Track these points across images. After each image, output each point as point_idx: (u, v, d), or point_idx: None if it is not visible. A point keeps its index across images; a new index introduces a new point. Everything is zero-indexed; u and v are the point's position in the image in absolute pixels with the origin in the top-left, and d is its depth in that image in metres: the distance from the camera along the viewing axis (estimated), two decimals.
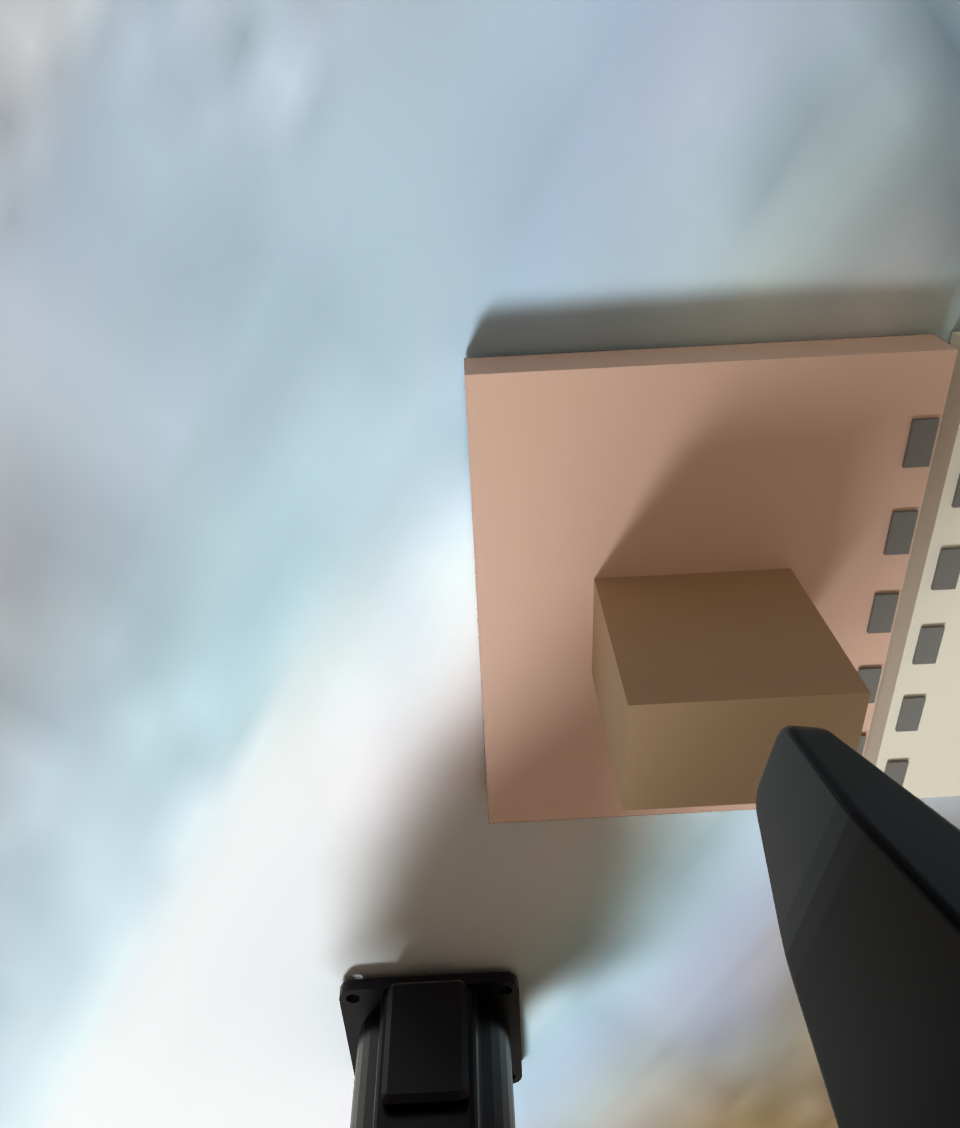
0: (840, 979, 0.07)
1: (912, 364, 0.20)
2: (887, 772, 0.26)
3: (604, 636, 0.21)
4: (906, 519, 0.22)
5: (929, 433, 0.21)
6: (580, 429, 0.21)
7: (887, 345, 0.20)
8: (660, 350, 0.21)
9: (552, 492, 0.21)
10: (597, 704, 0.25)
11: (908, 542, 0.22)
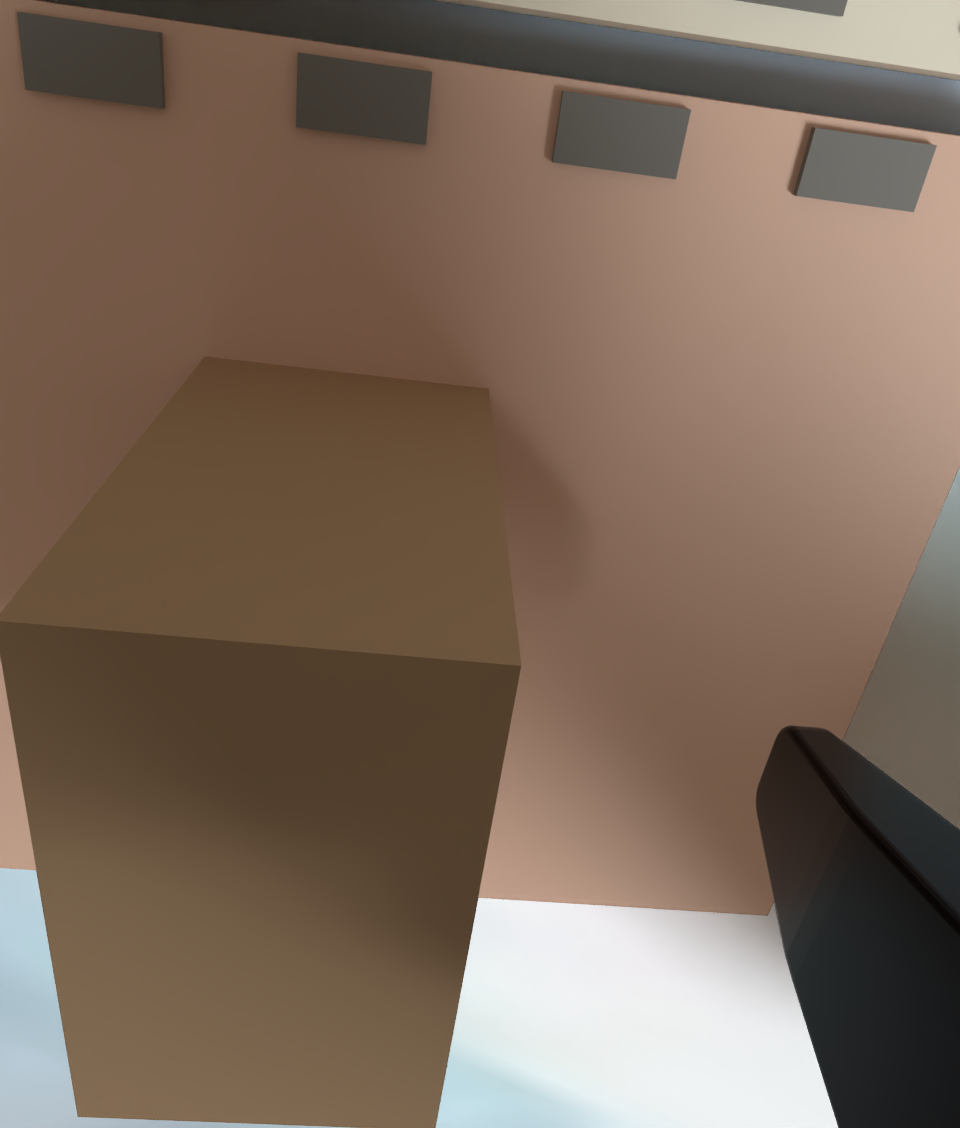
0: (840, 979, 0.07)
1: None
2: None
3: None
4: (52, 43, 0.08)
5: None
6: None
7: None
8: None
9: None
10: (522, 739, 0.12)
11: (118, 38, 0.08)
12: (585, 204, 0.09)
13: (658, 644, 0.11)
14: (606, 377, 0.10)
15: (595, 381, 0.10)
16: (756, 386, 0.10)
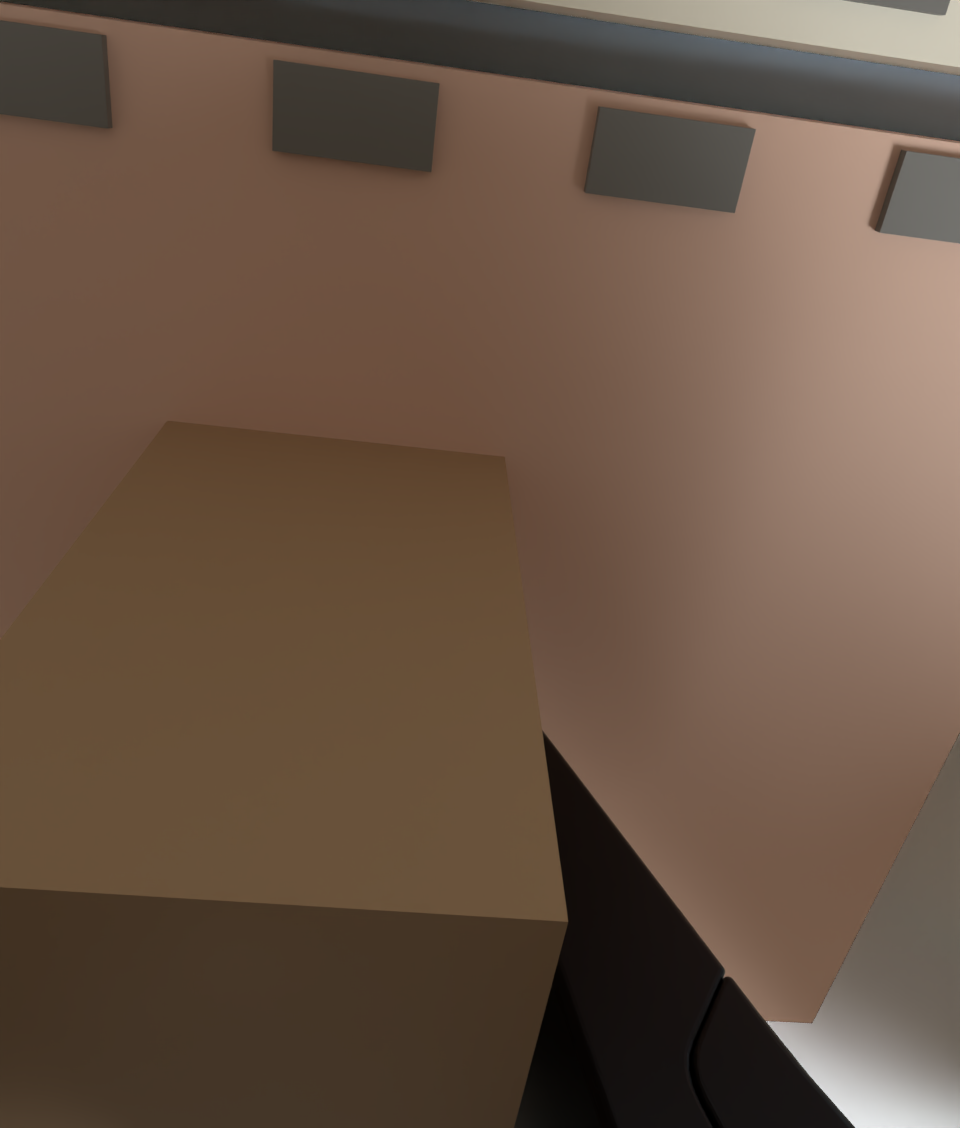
0: None
1: None
2: None
3: None
4: None
5: None
6: None
7: None
8: None
9: None
10: None
11: (52, 42, 0.06)
12: (623, 242, 0.07)
13: (698, 739, 0.10)
14: (644, 443, 0.08)
15: (631, 448, 0.08)
16: (821, 453, 0.08)
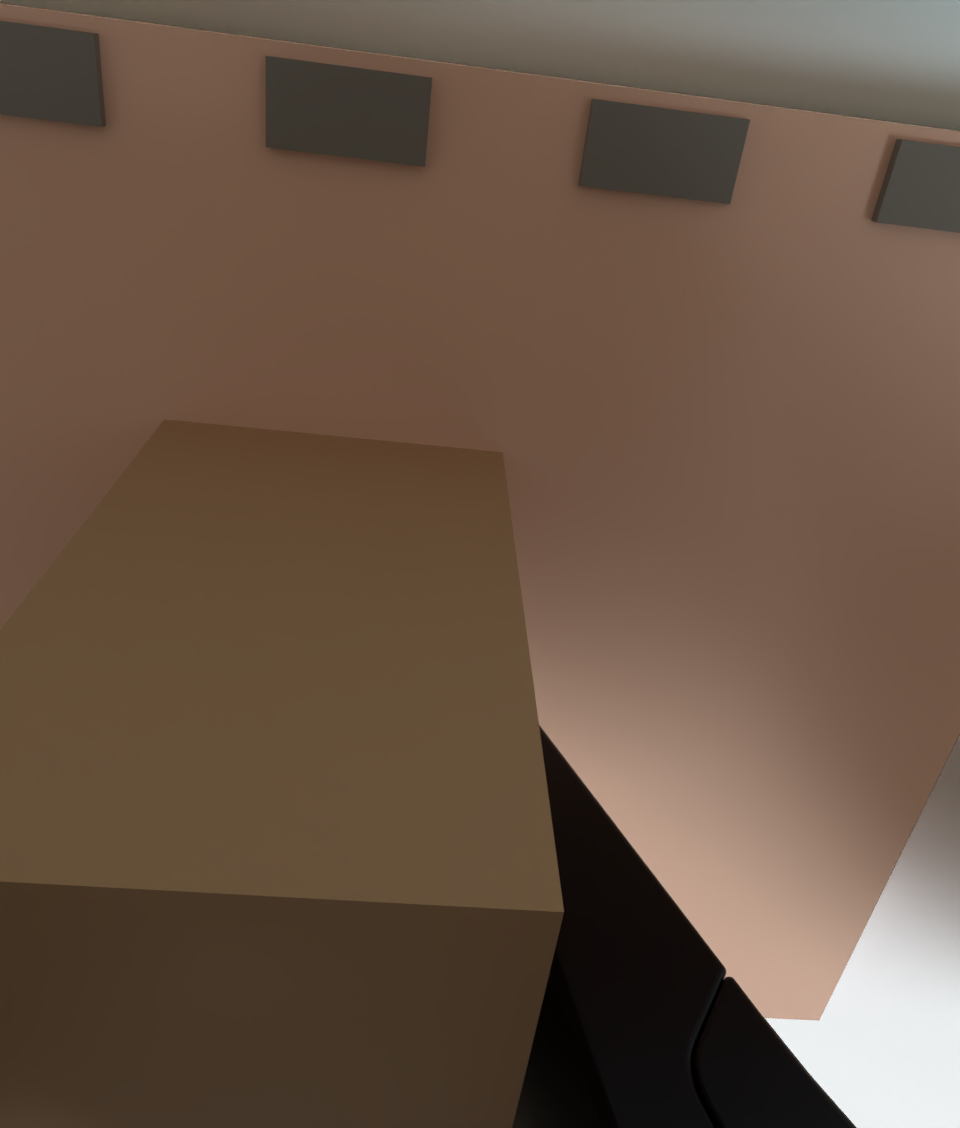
0: None
1: None
2: None
3: None
4: None
5: None
6: None
7: None
8: None
9: None
10: None
11: (44, 42, 0.06)
12: (619, 235, 0.07)
13: (700, 734, 0.10)
14: (642, 439, 0.08)
15: (629, 442, 0.08)
16: (820, 445, 0.08)
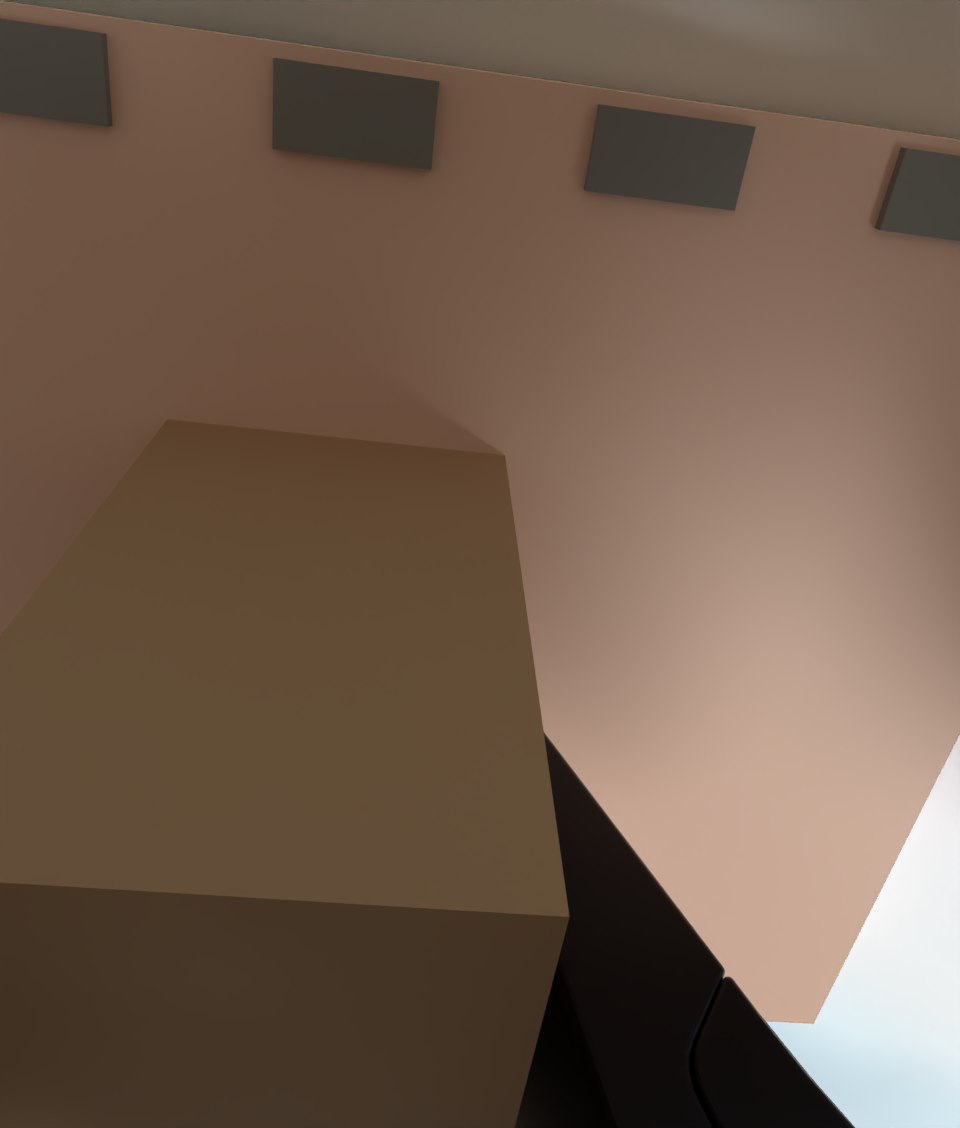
0: None
1: None
2: None
3: None
4: None
5: None
6: None
7: None
8: None
9: None
10: None
11: (51, 40, 0.06)
12: (623, 241, 0.07)
13: (699, 738, 0.10)
14: (644, 442, 0.08)
15: (631, 447, 0.08)
16: (822, 451, 0.08)
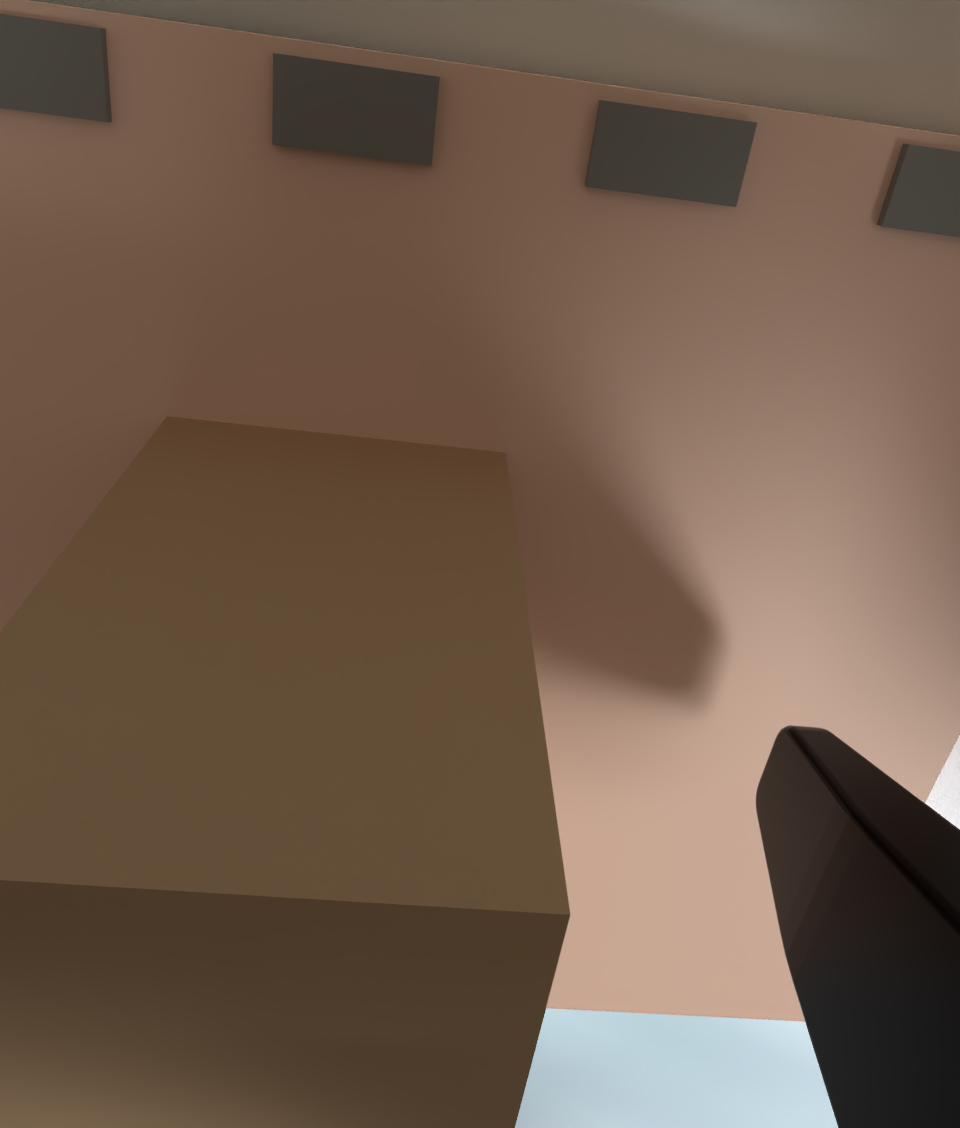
0: (840, 979, 0.07)
1: None
2: None
3: None
4: None
5: None
6: None
7: None
8: None
9: None
10: None
11: (49, 36, 0.06)
12: (623, 237, 0.07)
13: (699, 737, 0.10)
14: (645, 440, 0.08)
15: (632, 444, 0.08)
16: (823, 449, 0.08)
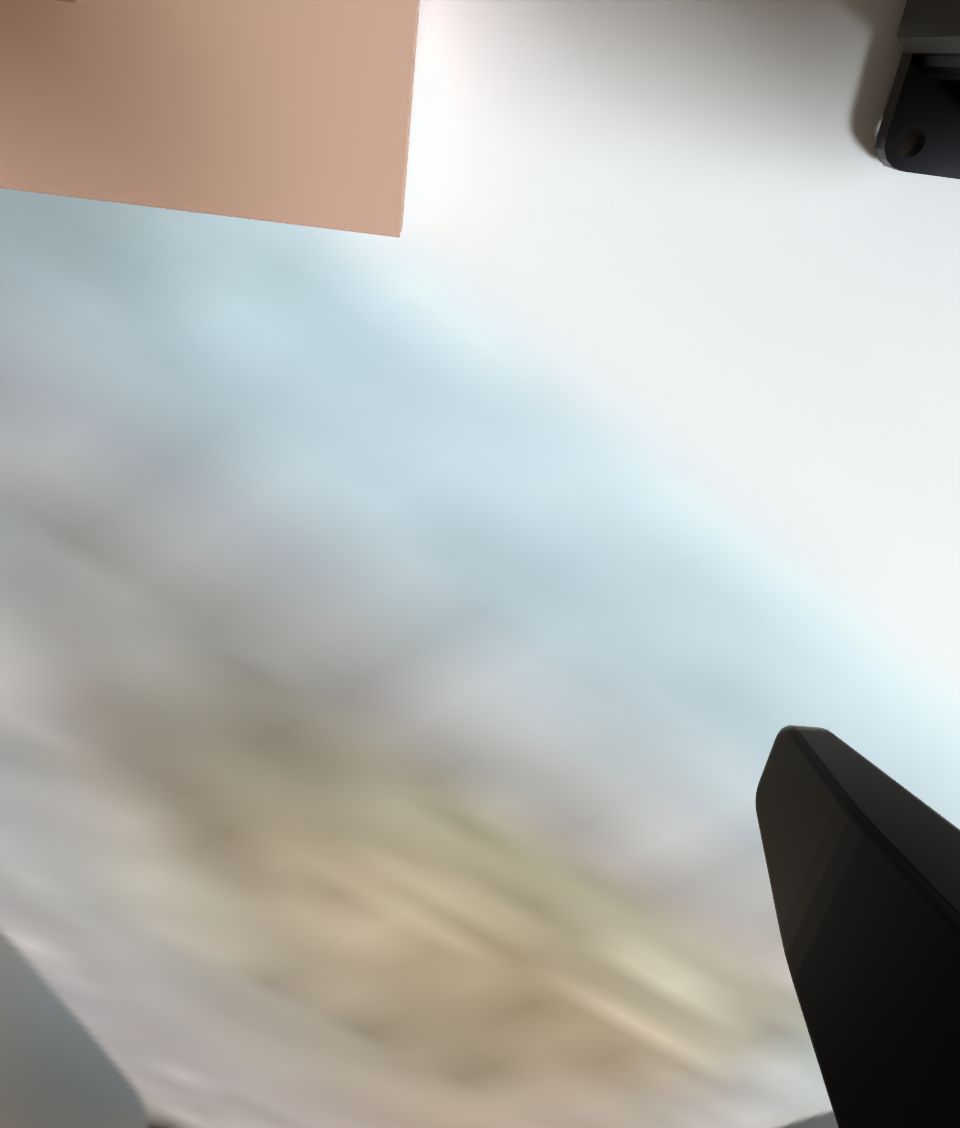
0: (840, 979, 0.07)
1: None
2: None
3: None
4: None
5: None
6: None
7: None
8: None
9: None
10: (144, 0, 0.14)
11: None
12: None
13: None
14: None
15: None
16: None
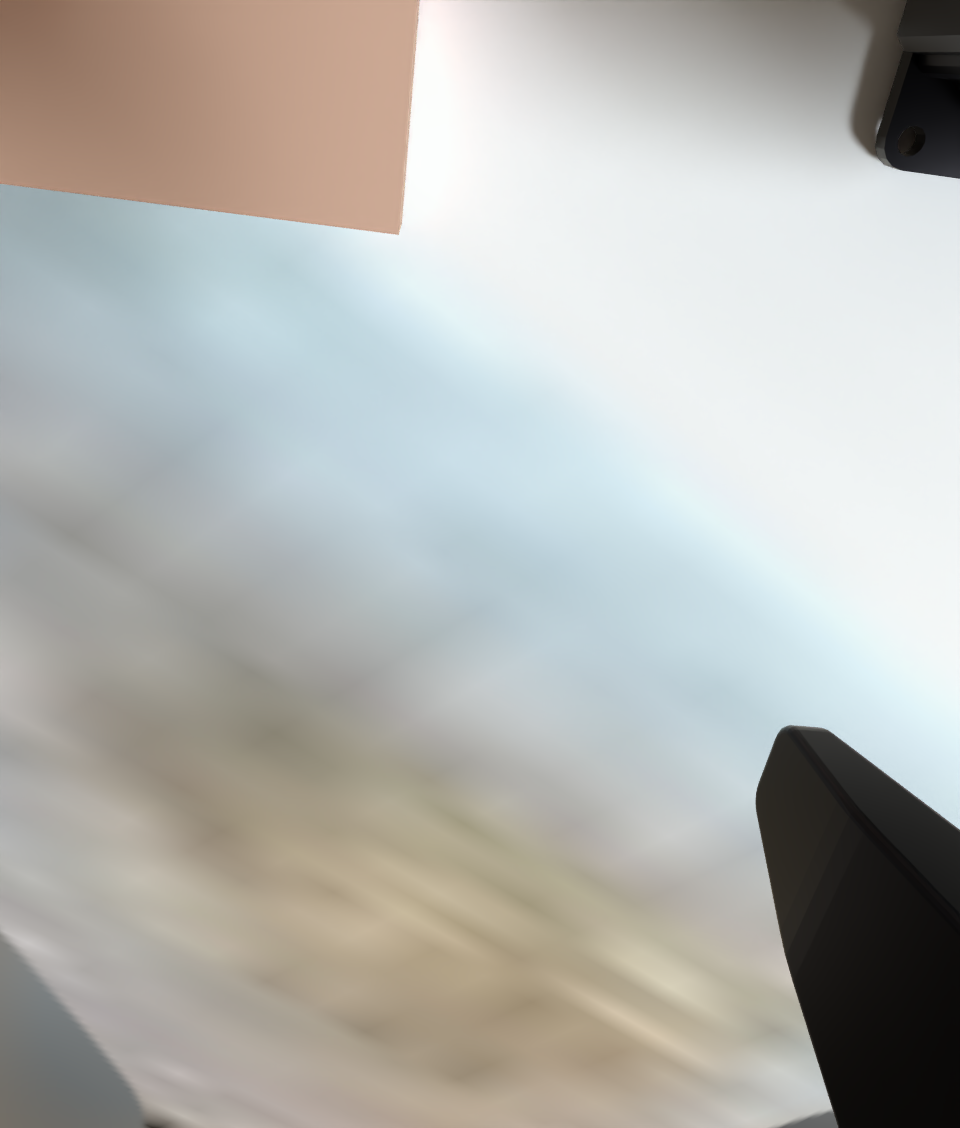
0: (840, 979, 0.07)
1: None
2: None
3: None
4: None
5: None
6: None
7: None
8: None
9: None
10: None
11: None
12: None
13: None
14: None
15: None
16: None
